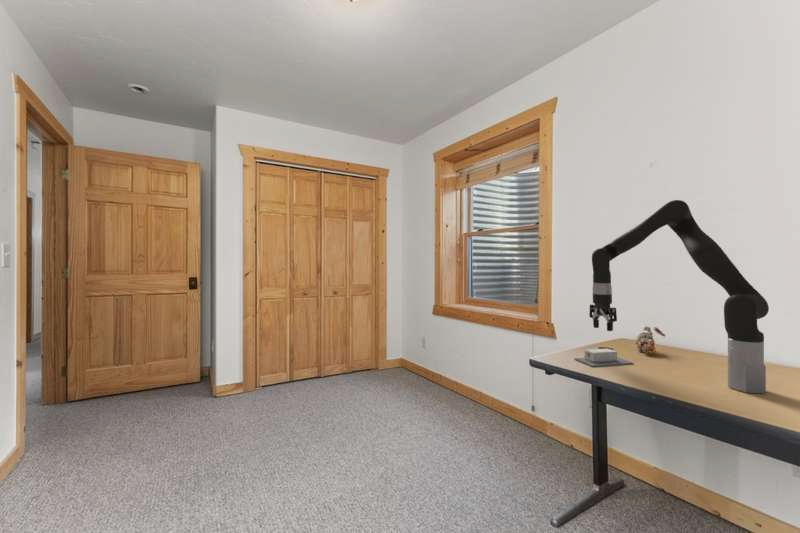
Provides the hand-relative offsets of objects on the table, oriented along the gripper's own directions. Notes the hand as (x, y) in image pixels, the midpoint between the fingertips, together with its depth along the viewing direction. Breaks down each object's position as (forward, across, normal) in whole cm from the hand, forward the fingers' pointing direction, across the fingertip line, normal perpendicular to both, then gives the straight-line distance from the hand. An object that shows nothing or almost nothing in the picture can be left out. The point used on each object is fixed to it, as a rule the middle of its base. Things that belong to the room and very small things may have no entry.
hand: (602, 329), depth 164 cm
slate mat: (+15, 0, 0) cm, 15 cm away
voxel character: (+15, +9, -33) cm, 38 cm away
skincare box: (+12, +2, +6) cm, 13 cm away
